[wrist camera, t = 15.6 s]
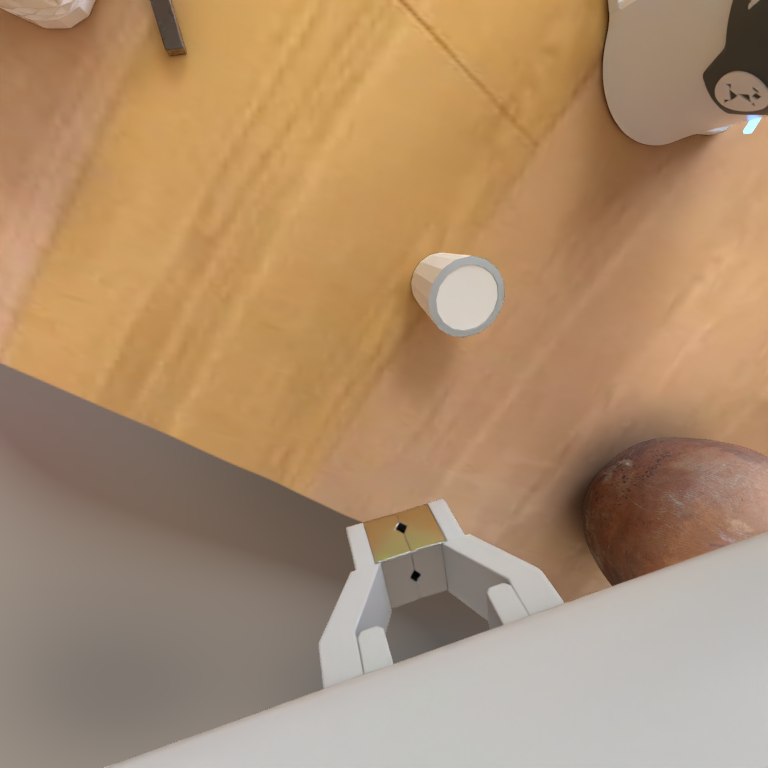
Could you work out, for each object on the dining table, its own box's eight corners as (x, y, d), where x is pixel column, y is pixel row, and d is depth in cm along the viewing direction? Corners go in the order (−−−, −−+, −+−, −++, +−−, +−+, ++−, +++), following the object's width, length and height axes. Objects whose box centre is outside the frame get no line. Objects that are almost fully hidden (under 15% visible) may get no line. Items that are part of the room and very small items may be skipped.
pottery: (604, 565, 68) (770, 749, 45) (520, 495, 57) (682, 690, 35) (721, 461, 65) (960, 605, 42) (654, 368, 54) (924, 494, 32)
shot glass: (393, 302, 43) (415, 322, 37) (423, 233, 41) (451, 242, 35) (452, 325, 45) (482, 348, 39) (483, 262, 43) (519, 274, 37)
